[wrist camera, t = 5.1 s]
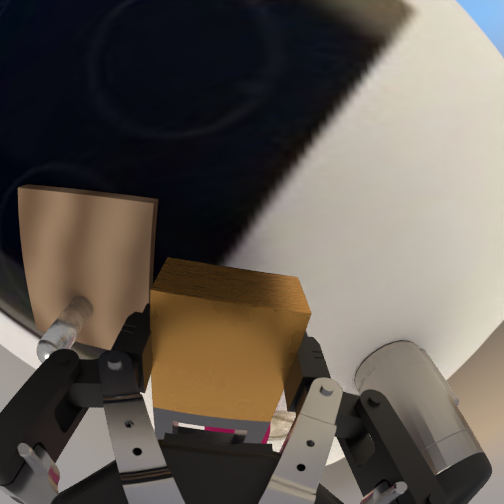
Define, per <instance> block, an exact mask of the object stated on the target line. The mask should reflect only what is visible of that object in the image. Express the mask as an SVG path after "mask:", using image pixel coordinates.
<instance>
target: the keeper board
mask: <svg viewBox="0 0 504 504" xmlns="http://www.w3.org/2000/svg"><path fill="white" fill-rule="evenodd" d="M158 200H159V199H154V198H146V197H139V196H131V195H123V194H115V193H106V192H98V191H89V190H80V189H70V188H61V187H50V186H39V185H28V184H27V185H24V186H21V187H19V188H18V207H19V223H20V235H21V245H22V253H23V261H24V268H25V274H26V280H27V286H28V291H29V296H30V301H31V306H32V310H33V314H34V319H35V323H36V327H37V330H40V331H43V332H47V330H48V329H49V328H50V326H51V325H52V324H53V322H54V321H55V320H56V318H57V317H58V316H59V315H60V313H61V312H62V311H63V310H64V308H65V307H66V306H67V304H68V303H69V302H70V301H71V299H72V298H73V297H74V296H77V295H80V296H83V297H85V298H87V299H88V300H89V301H90V303H91V304H92V306H93V313H92V315H91V316H90V318H89V320H88V321H87V323H86V324H85V326H84V327H83V329H82V330H81V332H80V334H79V335H78V337H77V338H76V340H75V341H76V342H80V343H83V344H87V345H91V346H95V347H99V348H103V349H107V350H111V348H112V346H113V344H114V342H115V340H116V338H117V336H118V334H119V333H120V331H121V329H122V327H123V325H124V323H125V321H126V319H127V317H128V316H129V315H131V314H132V313H134V312H135V311H136V312H141V313H142V312H143V310H144V308H145V306H146V304H147V303H149V304H150V290H151V288H152V286H153V267H154V249H155V234H156V221H157V210H158Z"/></svg>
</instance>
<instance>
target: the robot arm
mask: <svg viewBox="0 0 504 504" xmlns="http://www.w3.org/2000/svg"><path fill="white" fill-rule="evenodd" d="M151 371H152V331H150V304H149V303H147V304H146V306H145V308H144V310H143V312H142V313H141V312H136V311H135V312H134V313H132V314H131V315H129V316H128V317H127V319H126V321H125V323H124V325H123V327H122V329H121V331H120V333H119V334H118V336H117V338H116V340H115V342H114V344H113V346H112V348H111V350H109V351H106V352H104V353H102V354H101V355H100V356H99V358H98V359H94V360H85V359H79V356H78V354H77V353H76V352H74V351H73V350H70V349H58V350H56V351H54V352H53V353H51V354H50V356H49V357H48V358H47V359H46V360H45V361H44V362H43V363H42V364H41V366H40V367H39V368H38V369H37V370H36V371H35V372H34V373H33V375H32V376H31V377H30V378H29V379H28V380H27V382H26V383H25V384H24V385H23V386H22V388H21V389H20V390H19V391H18V392H17V393H16V394H15V396H14V397H13V398H12V399H11V400H10V402H9V403H8V404H7V405H6V407H5V408H4V409H3V410H2V412H1V413H0V489H1V490H2V491H3V492H4V493H5V494H7V495H9V496H10V497H11V498H12V499H14V500H15V501H16V502H18V503H21V504H344V503H343V502H341V501H340V500H339V499H338V498H336V497H335V496H334V495H333V494H332V493H330V492H329V491H328V490H327V489H326V488H325V487H323V486H322V485H321V484H320V483H319V482H320V479H321V476H322V473H323V471H324V468H325V465H326V461H327V458H328V455H329V452H330V449H331V445H332V442H333V439H334V436H335V437H337V439H338V441H339V443H340V446H341V448H342V450H343V452H344V455H345V457H346V459H347V461H348V463H349V466H350V468H351V470H352V472H353V474H354V477H355V479H356V481H357V484H358V486H359V488H360V490H361V492H362V495H363V499H362V500H361V503H360V504H468V503H469V501H470V500H471V499H472V498H473V497H474V496H475V495H476V494H477V492H478V491H479V490H480V489H481V488H482V487H483V486H484V485H485V483H486V482H487V481H488V479H489V478H490V476H491V474H492V467H491V464H490V462H489V460H488V458H487V456H486V455H485V453H484V451H483V449H482V448H481V446H480V444H479V442H478V441H477V439H476V437H475V435H474V434H473V432H472V430H471V429H470V427H469V425H468V423H467V422H466V420H465V418H464V417H463V415H462V414H461V412H460V410H459V409H458V407H457V405H458V402H459V401H458V398H457V397H456V395H455V394H454V392H453V391H452V389H451V388H450V386H449V385H448V383H447V382H446V380H445V379H444V377H443V376H442V374H441V373H440V371H439V370H438V368H437V367H436V365H435V364H434V362H433V361H432V360H431V358H430V357H429V355H428V354H427V353H426V351H425V350H420V349H419V348H418V347H417V345H415V344H414V343H412V342H408V341H400V342H395V343H392V344H389V345H386V346H384V347H382V348H380V349H379V350H377V351H376V352H374V353H373V354H372V355H371V356H369V357H368V358H367V359H366V360H365V361H364V362H363V363H362V365H361V366H360V368H359V369H358V371H357V374H356V377H355V384H356V387H357V390H358V392H359V395H360V396H358V395H353V394H349V393H346V392H343V390H342V388H341V386H340V385H339V384H338V383H337V382H336V381H334V380H332V379H331V377H330V374H329V371H328V368H327V365H326V362H325V359H324V356H323V353H322V350H321V347H320V344H319V343H318V342H317V341H316V340H315V339H314V338H313V337H308V336H307V333H306V331H305V333H304V336H303V339H302V342H301V345H300V347H299V350H298V351H297V352H296V354H295V357H294V360H293V363H292V365H291V368H290V371H289V373H288V376H287V379H286V381H285V384H284V392H285V398H286V404H287V411H289V412H296V418H295V420H294V422H293V424H292V426H291V428H290V431H289V433H288V435H287V437H286V439H285V441H284V444H283V446H282V448H281V450H280V452H279V453H278V452H275V451H273V449H272V444H261V443H240V444H233V445H224V446H217V445H214V444H211V443H208V442H205V441H202V440H199V439H196V438H193V437H189V436H183V435H177V434H171V433H166V432H165V435H164V439H158V440H157V438H156V435H155V433H154V430H153V427H152V424H151V421H150V418H149V415H148V412H147V409H146V406H145V402H144V399H143V396H142V394H140V392H142V393H145V391H146V388H147V384H148V381H149V378H150V375H151ZM89 407H104V410H105V415H106V420H107V425H108V430H109V434H110V439H111V443H112V447H113V451H114V455H115V460H114V461H112V462H111V463H109V464H108V465H106V466H104V467H103V468H101V469H100V470H98V471H97V472H95V473H93V474H91V475H90V476H88V477H87V478H85V479H83V480H82V481H80V482H78V483H76V484H75V485H73V486H71V487H69V488H68V489H66V490H64V491H62V492H61V493H59V492H58V482H59V479H60V472H59V469H58V467H57V466H56V465H55V463H56V461H57V459H58V457H59V456H60V454H61V452H62V451H63V449H64V447H65V446H66V444H67V443H68V441H69V439H70V437H71V436H72V434H73V433H74V431H75V429H76V428H77V426H78V425H79V423H80V421H81V420H82V418H83V417H84V415H85V413H86V412H87V410H88V409H89ZM369 434H370V435H369ZM370 436H371V437H370ZM371 438H372V439H371ZM372 440H373V441H372Z"/></svg>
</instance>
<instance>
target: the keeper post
mask: <svg viewBox="0 0 504 504" xmlns="http://www.w3.org/2000/svg"><path fill="white" fill-rule="evenodd" d="M92 313H93V306H92V304H91V303H90V301H89V300H88V299H87V298H85V297H83V296H80V295H77V296H74V297H73V298H72V299H71V301H70V302H69V303H68V304H67V306H66V307H65V308H64V310H63V311H62V312H61V313H60V315H59V316H58V317H57V318H56V320H55V321H54V322H53V324H52V325H51V326H50V328H49V329H48V330H47V332H46V333H45V334H44V336H43V337H42V338H41V340H40V341H39V343H38V345H37V356H38V358H39V360H40V361H41V362H42V363H43V362H44V361H45V360H46V359H47V358H48V357H49V356H50V354H51V353H53V352H54V351H56V350H58V349H70V348H71V346H72V345H73V343H74V342H75V340H76V338H77V337H78V335H79V334H80V332H81V330H82V329H83V327H84V326H85V324H86V323H87V321H88V320H89V318H90V316H91V315H92Z"/></svg>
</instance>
